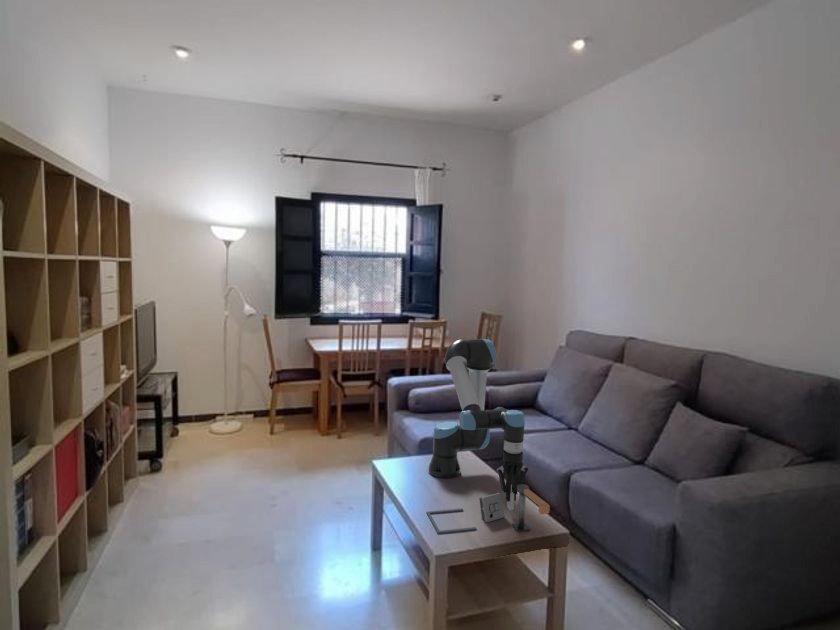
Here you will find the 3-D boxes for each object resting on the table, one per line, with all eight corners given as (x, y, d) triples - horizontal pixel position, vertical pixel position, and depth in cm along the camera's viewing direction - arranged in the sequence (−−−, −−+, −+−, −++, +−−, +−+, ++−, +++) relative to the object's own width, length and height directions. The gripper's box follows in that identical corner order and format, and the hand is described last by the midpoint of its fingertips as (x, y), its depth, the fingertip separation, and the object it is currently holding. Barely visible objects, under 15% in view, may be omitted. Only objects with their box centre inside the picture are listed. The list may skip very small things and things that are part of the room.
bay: (426, 513, 197) (426, 511, 197) (462, 509, 200) (462, 508, 200) (437, 533, 181) (437, 532, 181) (476, 530, 185) (476, 528, 185)
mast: (511, 525, 189) (513, 489, 188) (524, 524, 190) (525, 488, 189) (517, 532, 184) (519, 495, 183) (530, 531, 185) (531, 494, 184)
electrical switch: (486, 523, 190) (485, 499, 190) (477, 518, 195) (477, 495, 195) (505, 517, 195) (504, 494, 195) (496, 513, 199) (496, 490, 199)
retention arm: (514, 493, 187) (514, 484, 187) (524, 492, 189) (524, 483, 189) (539, 514, 171) (540, 504, 171) (550, 512, 173) (551, 503, 173)
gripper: (501, 455, 189) (498, 514, 191) (532, 452, 193) (529, 511, 195) (493, 448, 197) (491, 505, 199) (524, 446, 200) (521, 502, 202)
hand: (510, 508), depth 197 cm, fingers closed
